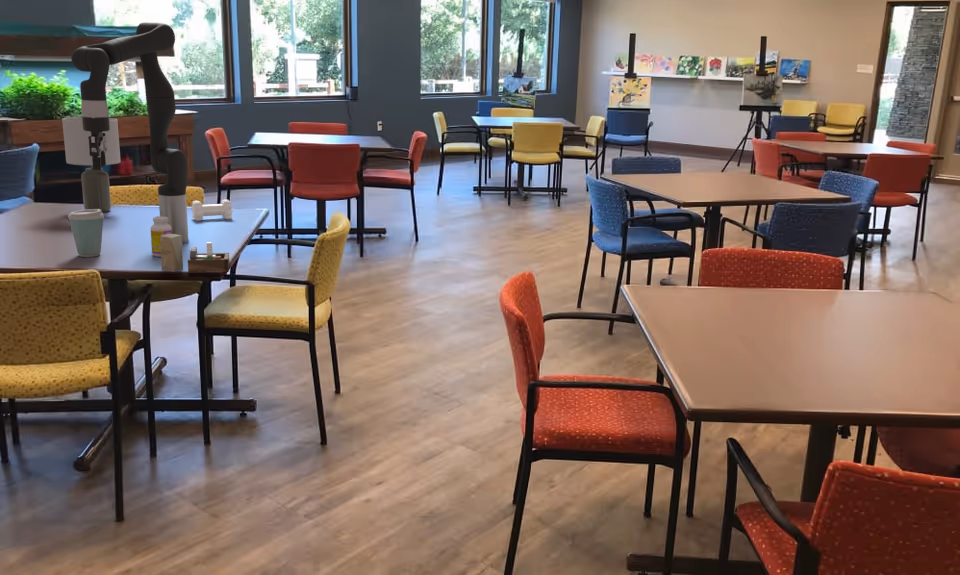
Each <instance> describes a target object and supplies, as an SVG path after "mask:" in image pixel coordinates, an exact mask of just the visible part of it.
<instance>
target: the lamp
mask: <svg viewBox="0 0 960 575" xmlns="http://www.w3.org/2000/svg"><path fill="white" fill-rule="evenodd" d="M61 119H62V120H61V121H62V133H63V142H64V152H65V153H64V154H65V162H66V164H67V165H68V164H69V165H74V166H91V167H87V168H85V171H83V172H82V173H81V175H80V180H81V188H82V201H83V208H84V209H83V210H88V209H100V210H101V211H102V213H103V214H104V213H107V212H110V210H111V208H112V200H111V199H112V198H111V188H110V186H111V185H110V176H109V173H108V172H107V171H105V170H104V168H103V167H101V169H100V170H94V169H93V162H92V158H93V157H91V156H90V154H89V153H90V150H89V139H88V137H89V136H91V132H90V131H84V130H83V123H82V116H81V117H80V116H79V117H76V116H75V117H64V118H63V117H62V118H61ZM118 124H119V123H118V118H114V117H113V118H112V117H109V126H110V130H109V131H104V132H103V133H105V134H106V135H105V137H106V148H107V151H106V154H105V157H106V166H111V165H116V164H120V163H121V162H122V160H121V150H120V136H119V126H118ZM94 152H97V151H94Z"/></svg>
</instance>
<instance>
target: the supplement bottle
mask: <svg viewBox="0 0 960 575" xmlns="http://www.w3.org/2000/svg"><path fill="white" fill-rule="evenodd" d="M152 222H153V224H152V225H151V226H150V239H151V240H150V243H151V254H152V256H154V257H158V258H161V242H160V236H161V235H165V234H172V227H171V226H170V225H169V224H168V217H165V216H160V215H158V216H153V217H152Z"/></svg>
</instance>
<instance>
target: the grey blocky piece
mask: <svg viewBox="0 0 960 575" xmlns="http://www.w3.org/2000/svg"><path fill="white" fill-rule="evenodd" d="M213 251H214V250H213V241H207V242H206V253H207V255H197V253H198V248H197V246H192V247H190V250H189V259H203V257H204V256H213V259H214V256H216V255H213V253H214V252H213Z"/></svg>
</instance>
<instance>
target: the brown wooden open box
mask: <svg viewBox="0 0 960 575" xmlns="http://www.w3.org/2000/svg"><path fill="white" fill-rule="evenodd" d="M197 255H207V252H202V253H201V252H199V253H198V252H197ZM213 255H216V256H214V259H213V256H204V257H203V259H190V258H188V259H187V269H188V270H187V272H188V273H189V274H193V273H197V274H198V273H229V272H230V252H213Z"/></svg>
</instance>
